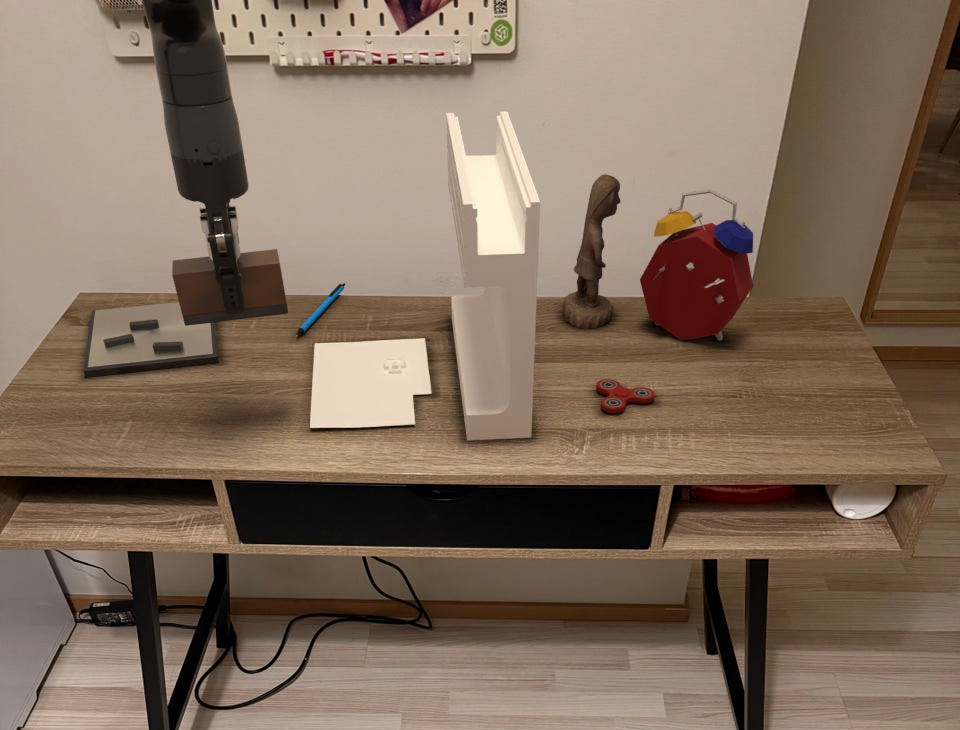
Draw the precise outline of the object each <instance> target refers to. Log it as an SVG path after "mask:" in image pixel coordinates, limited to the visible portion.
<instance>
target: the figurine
mask: <svg viewBox="0 0 960 730" xmlns="http://www.w3.org/2000/svg"><path fill="white" fill-rule="evenodd" d="M620 190H621V182H620V181H619V179H618V178H616V177H615V176H613V175H609V174H602V175H599V176H598V177H597V178H596V179H595V180H594V182H593V183H592V186H591V189H590V193H589V197H588V198H589V199H588V203H587V209H586V213H585V219H584V226H583V231H582V232H583V233H582V239H581V240H582V241H581V245H580V248H579V250H578V253H577V257H576V263H575V266H574V267H573V271H574V273H575V274H577V280H576V287H577V289H576V291H574V292H571V293H568V294H567V295H566V296H564V299H563V303H562V305H563V306H562V307H563V308H562V311H563V318H564V320H565V322H568V323H569V324H570V325H571V326H574V327H576V328H577V329H585V330H589V329H597V328H599V327H602V326H604V325H605V324H607V323H609V321H610V320H611V319H612V315H613V305H612V302H611V301H610V300H609V299H608V298H607V297H606V296H605V295H600V294H599V291H600V288H599V287H600V285H599V283H600V280H601V279H602V278H603V268H604V269H605V268H606V267H607V264H606V263H605V262H604V261H603V251H604V248H605V239H603V238H604V237H603V233H604V228H603V222H604V219H606V218H610V217H612V216H614V215H616V213H617V211H618V205H619V204H621V198H620V195H619V194H620V193H619V192H620Z"/></svg>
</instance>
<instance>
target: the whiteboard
mask: <svg viewBox="0 0 960 730" xmlns="http://www.w3.org/2000/svg"><path fill="white" fill-rule="evenodd" d="M155 319H158V323H159V327H157V328H148V329H138V330H130V326H129V324H130V322H135V321H145V320H155ZM216 323H217V322H214V323H206V324H197V325H189V326H185V324H184V320H183V316H182V312H181V308H180V304H179V301H173V302H164V303H153V304H143V305H133V306H123V307H114V308H103V309H94V310H91V315H90V322H89V330H88V336H87V344H86V351H85V358H84V365H83V374H84V377H85V378H92V377H100V376H101V377H102V376H113V375H118V374H119V375H120V374H129V373H138V372H146V371H154V370H155V371H156V370H164V369H166V370H167V369H173V368H182V367H192V366H201V365H209V364H219V362H220V359H219V358H220V357H219V347H218V335H217V325H216ZM127 334H132V335H133V337H134V342H131V343H126V344H122V345H117V346H113V347H108V348H106V346H105V344H104V341H103V340H104V339H109V338H113V337H118V336H123V335H127ZM181 341H182V342H183V349H182V350H171V351H154V350H153V344H154V342H181Z"/></svg>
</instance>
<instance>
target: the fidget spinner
mask: <svg viewBox="0 0 960 730" xmlns="http://www.w3.org/2000/svg"><path fill="white" fill-rule="evenodd" d="M595 389H596V391H597V392H598V393H600V394H602V395H606V397H604V398H602V399H601V401H600V408H601V409H602V411H604V412H607V413H610V414H618V413H621V412H623V411H625V409H626V404H628V403H639V404H648V403H651V402H653V401H654V399H655V394H656V393H655V391H654V390H653V389H651V388H648V387H644V386H638V387H633V388H627V387H623V386H622V385H621V383H620V382H619V381H618V380H616V379H612V378H602V379H600V380H598V381H597V382H596V386H595Z"/></svg>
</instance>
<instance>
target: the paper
mask: <svg viewBox="0 0 960 730" xmlns="http://www.w3.org/2000/svg"><path fill="white" fill-rule="evenodd" d="M311 386H312V387H311V398H310V400H311V402H310V418H309V420H310V421H309V428H310V429H320V428H321V429H324V428H325V429H326V428H328V429H329V428H330V429H331V428H335V429H337V428H338V429H339V428H342V429H343V428H345V429H346V428H351V429H352V428H353V429H354V428H374V427H375V428H376V427H391V426H392V427H393V426H408V425H409V426H411V425H416V418H415V407H414V406H415V405H414V396H416V395H431V394H432V386H431V377H430V369H429V361H428V352H427V344H426V338H425V337H424V338H423V337H422V338H421V337H420V338H403V339H384V340H383V339H382V340H363V341H345V342H344V341H343V342H320V343H319V342H317V343H316V342H315V343H314V350H313V365H312V384H311Z"/></svg>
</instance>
